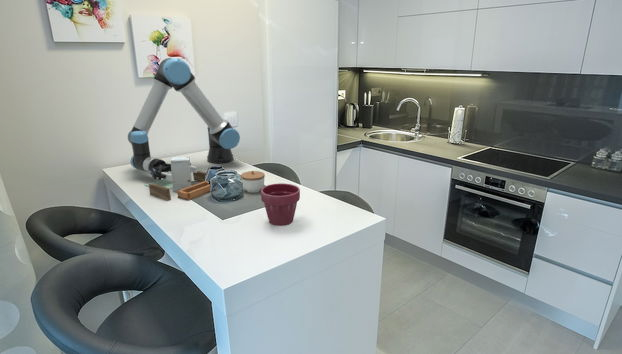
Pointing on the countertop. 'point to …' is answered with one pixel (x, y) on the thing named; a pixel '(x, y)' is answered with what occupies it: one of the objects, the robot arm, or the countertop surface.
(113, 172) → the countertop surface
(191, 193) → the brown rectangular tray
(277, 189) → the plant pot
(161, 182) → the pad
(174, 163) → the skincare box
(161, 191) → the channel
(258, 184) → the lidded jar
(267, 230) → the countertop surface
